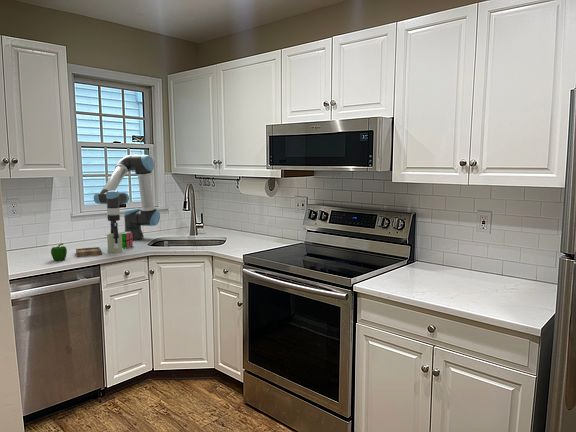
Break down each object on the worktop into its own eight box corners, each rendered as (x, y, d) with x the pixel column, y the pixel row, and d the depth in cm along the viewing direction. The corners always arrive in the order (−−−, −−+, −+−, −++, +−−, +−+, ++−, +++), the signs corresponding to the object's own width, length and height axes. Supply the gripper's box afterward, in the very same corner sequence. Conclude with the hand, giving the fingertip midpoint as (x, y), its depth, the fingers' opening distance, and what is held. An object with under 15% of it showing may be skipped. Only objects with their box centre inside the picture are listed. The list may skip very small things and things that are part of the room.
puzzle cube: (133, 245, 314) (132, 231, 313) (126, 248, 304) (125, 233, 303) (119, 245, 315) (118, 231, 314) (112, 248, 305) (111, 233, 304)
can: (114, 253, 286) (113, 234, 284) (104, 252, 290) (103, 233, 289) (125, 250, 294) (125, 233, 292) (116, 249, 298) (115, 232, 297)
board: (99, 251, 293) (99, 247, 293) (101, 254, 281) (101, 250, 280) (76, 253, 286) (75, 248, 286) (77, 257, 274) (77, 252, 274)
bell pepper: (49, 261, 260) (48, 245, 259) (54, 259, 268) (53, 242, 267) (64, 261, 262) (63, 244, 261) (69, 258, 270) (68, 242, 269)
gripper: (105, 213, 298) (106, 244, 301) (109, 216, 277) (111, 250, 279) (117, 212, 302) (118, 243, 304) (122, 216, 280) (123, 249, 282)
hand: (115, 246), depth 292 cm, fingers open, 13 cm apart
